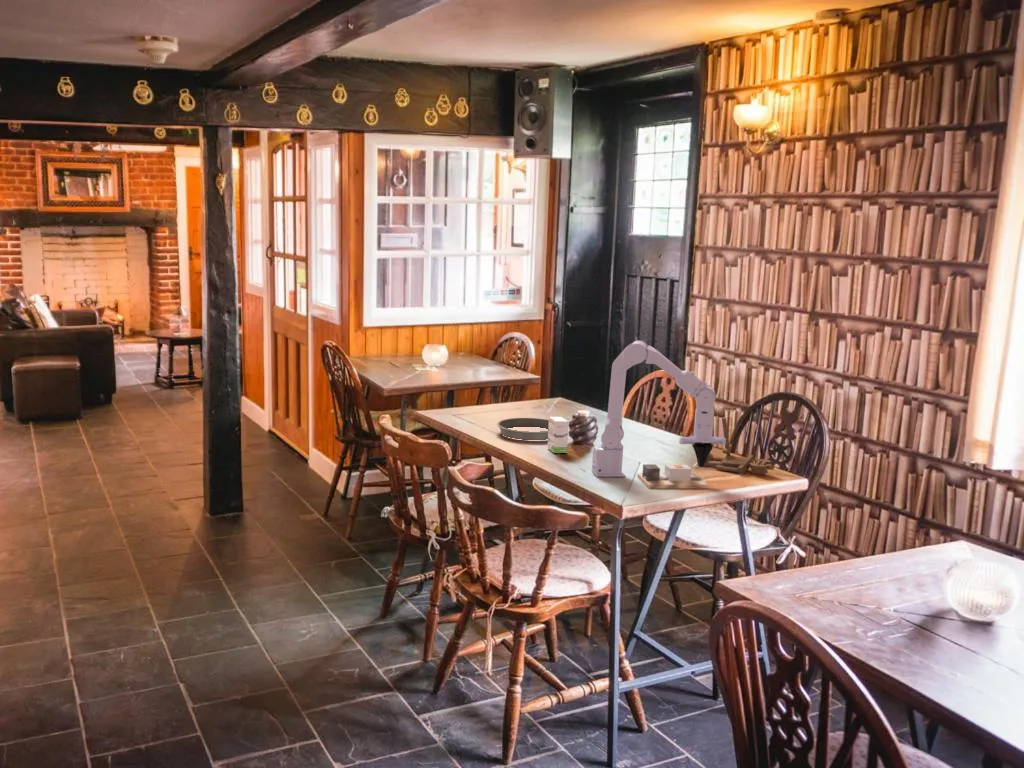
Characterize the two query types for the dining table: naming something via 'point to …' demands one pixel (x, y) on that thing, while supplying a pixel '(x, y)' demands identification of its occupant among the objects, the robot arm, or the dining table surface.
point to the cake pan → (524, 423)
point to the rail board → (660, 480)
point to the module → (678, 472)
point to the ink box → (557, 434)
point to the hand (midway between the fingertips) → (700, 466)
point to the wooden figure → (737, 459)
